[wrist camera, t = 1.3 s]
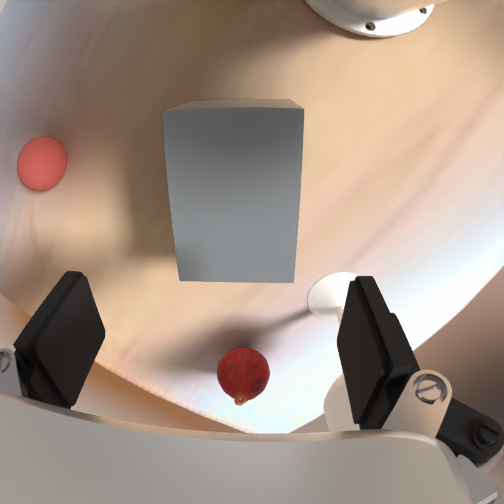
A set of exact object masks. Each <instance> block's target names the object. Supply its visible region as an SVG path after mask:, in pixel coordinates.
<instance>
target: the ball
mask: <svg viewBox="0 0 504 504" xmlns="http://www.w3.org/2000/svg"><path fill="white" fill-rule="evenodd" d="M66 165H67V157H66V153H65V150H64V148H63V146H62V145H61V144H60V143H59V142H58V141H57V140H55V139H53V138H51V137H45V136H44V137H38V138H35V139H33V140H31V141H30V142H28V143H27V144H26V145H25V146H24V147H23V149H22V150H21V152H20V154H19V157H18V161H17V171H18V175H19V178H20V180H21V181H22V183H23V184H24V185H25V186H26V187H28V188H30V189H32V190H35V191H44V190H48V189H50V188H52V187H54V186H55V185H56V184H57V183H58V182H59V181H60V180H61V178H62V177H63V175H64V173H65V170H66Z"/></svg>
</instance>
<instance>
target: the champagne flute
mask: <svg viewBox="0 0 504 504" xmlns="http://www.w3.org/2000/svg"><path fill="white" fill-rule="evenodd" d="M356 276H357V275H355V274H352V273H346V272H339V273H334V274H330V275H328V276H325V277H324V278H322V279H320V280H319V281H318V282H317V283H315V285H314V286H313V287H312V288H311V290H310V292H309V294H308V298H307V303H308V308H309V310H310V311H311V313H312V314H313V315H314V316H316V317H317V318H319V319H322V320H326V321H339V324H340V323H341V319H342V315H343V310H344V306H345V301H346V296H347V291H348V286H349V282H350V281H351V280H355V277H356ZM324 412H325V416H326V420H327V424H328V428H329V432H337V431H353V430H360V428H359V424H354V422H353V417H352V412H351V407H350V402H349V397H348V393H347V388H346V383H345V379H344V374H342V375H341V376H340V377H339V378H337V379H336V381H335V382H334V383H333V385H332V386H331V388H330V389H329V391H328V393H327V395H326V398H325V401H324Z"/></svg>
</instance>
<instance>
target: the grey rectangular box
mask: <svg viewBox="0 0 504 504" xmlns="http://www.w3.org/2000/svg"><path fill="white" fill-rule="evenodd" d="M162 123H163V138H164V151H165V163H166V174H167V185H168V194H169V204H170V213H171V221H172V229H173V237H174V245H175V253H176V260H177V267H178V274H179V280H180V281H204V282H260V283H294V271H295V259H296V247H297V234H298V220H299V205H300V189H301V171H302V151H303V128H304V108H302V107H301V106H299V105H297V104H296V103H294V102H293V101H291V100H288V99H214V100H194V101H190V102H187V103H184V104H181V105H178V106H175V107H172V108H170V109H167V110H164V111H162Z"/></svg>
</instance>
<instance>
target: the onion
mask: <svg viewBox="0 0 504 504" xmlns="http://www.w3.org/2000/svg"><path fill="white" fill-rule="evenodd" d="M269 376H270V370H269V366H268V363H267V360H266V359H265V357H264V356H263V355H261V354H260V353H259V352H258V351H256V350H253V349H250V348H237V349H234V350H232V351H230V352H228V353H226V354H225V356H224V357H223V358H222V359H221V360H220V361H219V364H218V368H217V378H218V381H219V384H220V385H221V387H222V389H223V391H224V392H225V393H226V394H228V395H229V396H231V397H232V398H234V399H235V400H234V401H235V403H236V405H240V406H241V405H243V404H244V403H245V402H247V401H248V400H251V399H253V398H255V397H256V396H258V395H259V394H260V393H262V392H263V390H264V389H265V387H266V385H267V382H268V380H269Z"/></svg>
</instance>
